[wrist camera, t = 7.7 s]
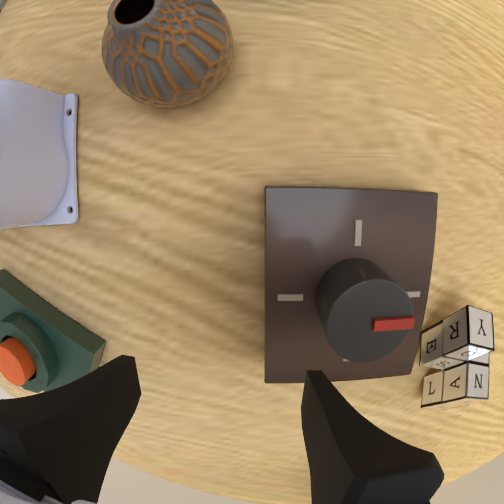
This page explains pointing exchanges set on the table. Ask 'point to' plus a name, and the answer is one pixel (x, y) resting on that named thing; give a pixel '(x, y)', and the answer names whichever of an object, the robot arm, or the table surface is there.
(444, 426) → the table surface
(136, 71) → the vase
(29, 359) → the button
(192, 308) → the table surface
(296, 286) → the knob panel
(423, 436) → the table surface
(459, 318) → the building blocks
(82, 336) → the button base
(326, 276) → the cap knob
